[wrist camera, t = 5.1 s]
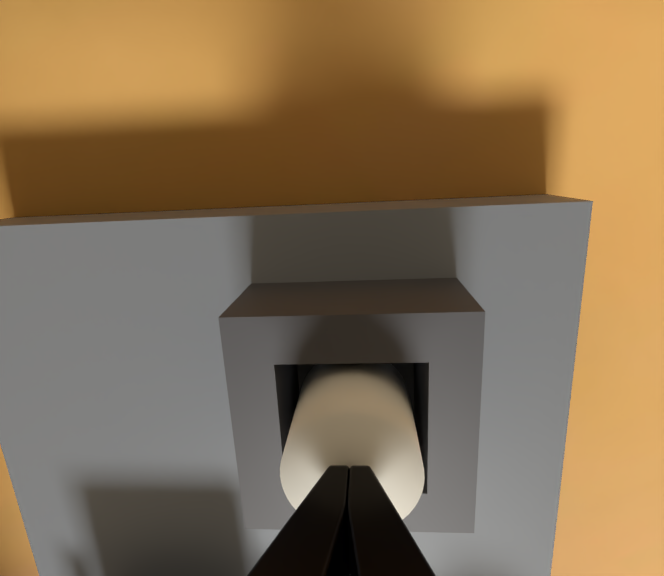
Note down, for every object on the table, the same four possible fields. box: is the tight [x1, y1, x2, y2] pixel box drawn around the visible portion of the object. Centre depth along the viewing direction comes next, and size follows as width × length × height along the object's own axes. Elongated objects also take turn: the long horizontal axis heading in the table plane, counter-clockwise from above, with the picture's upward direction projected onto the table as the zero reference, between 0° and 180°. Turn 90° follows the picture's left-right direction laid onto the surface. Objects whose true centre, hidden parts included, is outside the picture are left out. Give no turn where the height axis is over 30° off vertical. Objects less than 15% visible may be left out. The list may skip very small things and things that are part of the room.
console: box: [0, 194, 593, 576], centre depth 15 cm, size 24×19×6 cm
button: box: [280, 363, 425, 520], centre depth 10 cm, size 3×3×3 cm
